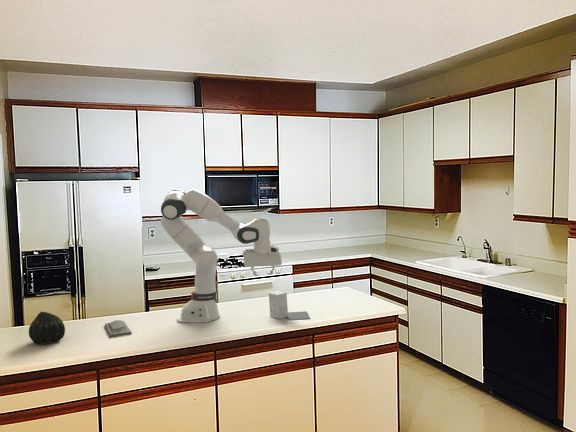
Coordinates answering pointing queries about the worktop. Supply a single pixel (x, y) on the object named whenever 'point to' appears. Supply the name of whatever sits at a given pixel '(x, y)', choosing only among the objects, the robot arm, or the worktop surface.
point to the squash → (46, 328)
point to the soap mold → (117, 328)
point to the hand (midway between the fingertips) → (263, 274)
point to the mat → (297, 315)
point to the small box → (278, 304)
